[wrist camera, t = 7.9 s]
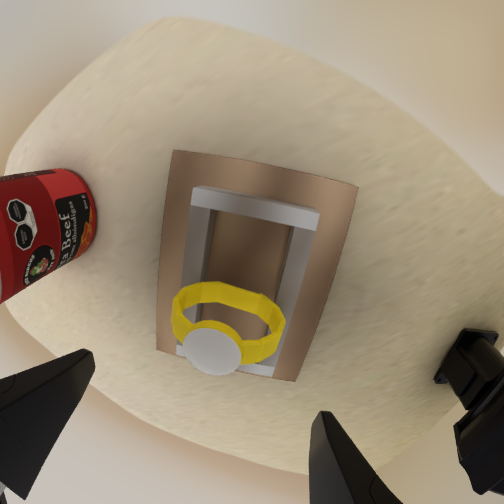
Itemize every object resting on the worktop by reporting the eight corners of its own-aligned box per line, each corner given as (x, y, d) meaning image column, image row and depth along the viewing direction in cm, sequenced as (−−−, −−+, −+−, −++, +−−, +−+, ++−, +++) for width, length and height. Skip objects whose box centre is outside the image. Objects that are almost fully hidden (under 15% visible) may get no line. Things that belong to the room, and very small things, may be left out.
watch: (290, 288, 16) (289, 348, 11) (277, 325, 17) (272, 391, 12) (195, 263, 17) (153, 309, 11) (189, 301, 18) (151, 355, 12)
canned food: (82, 273, 21) (-5, 334, 10) (32, 222, 20) (-53, 257, 10) (113, 201, 19) (-2, 240, 8) (56, 151, 18) (-47, 163, 7)
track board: (355, 186, 17) (368, 189, 14) (295, 375, 22) (295, 398, 19) (177, 150, 17) (160, 148, 14) (159, 344, 22) (147, 363, 19)
